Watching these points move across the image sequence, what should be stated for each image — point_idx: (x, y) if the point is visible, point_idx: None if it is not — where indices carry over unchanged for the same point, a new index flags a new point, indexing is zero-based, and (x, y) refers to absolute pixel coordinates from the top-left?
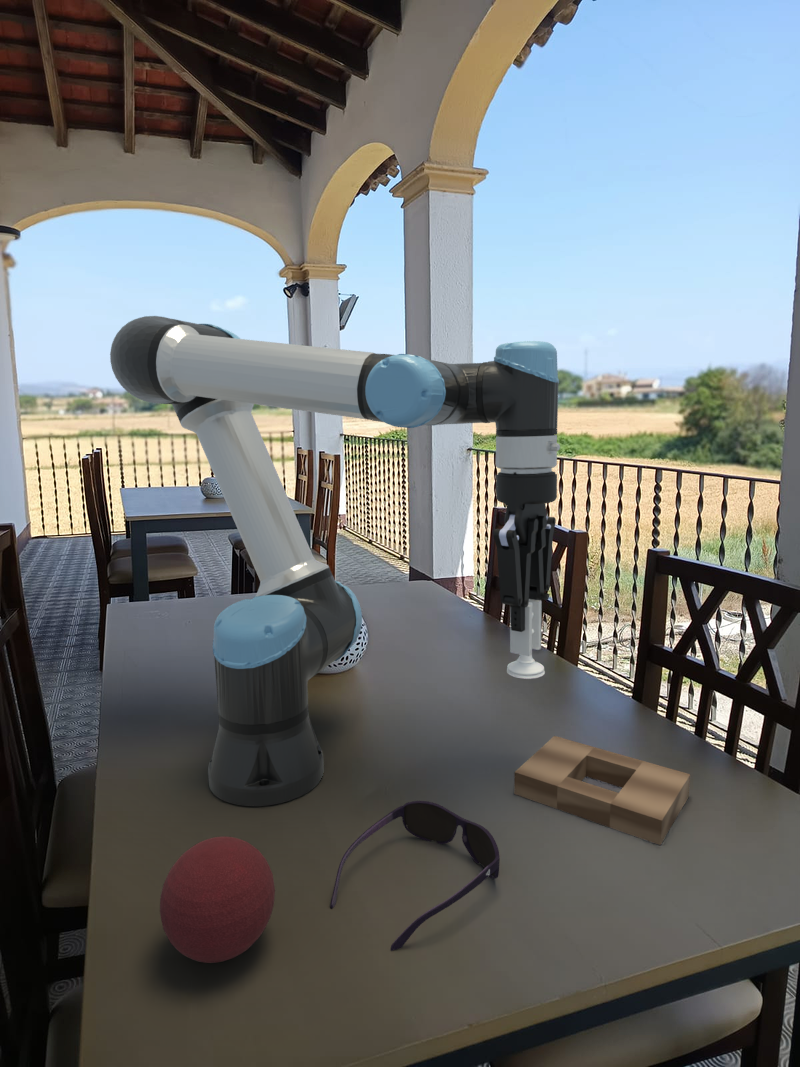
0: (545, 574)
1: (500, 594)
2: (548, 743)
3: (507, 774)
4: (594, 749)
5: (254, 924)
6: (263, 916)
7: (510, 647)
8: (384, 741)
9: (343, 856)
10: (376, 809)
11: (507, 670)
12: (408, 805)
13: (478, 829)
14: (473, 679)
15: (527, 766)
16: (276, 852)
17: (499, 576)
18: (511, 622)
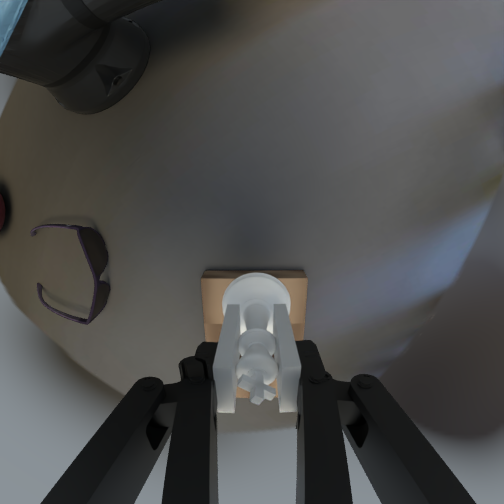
0: (357, 449)
1: (127, 394)
2: (284, 280)
3: (235, 246)
4: (299, 325)
5: None
6: None
7: (226, 309)
8: (217, 89)
9: (33, 229)
10: (107, 178)
11: (236, 280)
12: (80, 234)
13: (97, 298)
14: (425, 102)
15: (219, 284)
16: (41, 163)
17: (95, 435)
18: (195, 354)
